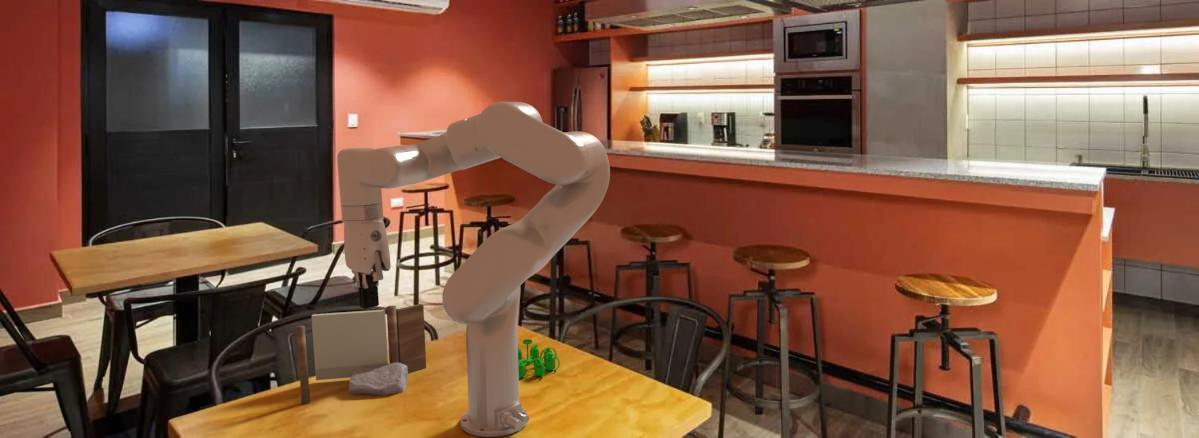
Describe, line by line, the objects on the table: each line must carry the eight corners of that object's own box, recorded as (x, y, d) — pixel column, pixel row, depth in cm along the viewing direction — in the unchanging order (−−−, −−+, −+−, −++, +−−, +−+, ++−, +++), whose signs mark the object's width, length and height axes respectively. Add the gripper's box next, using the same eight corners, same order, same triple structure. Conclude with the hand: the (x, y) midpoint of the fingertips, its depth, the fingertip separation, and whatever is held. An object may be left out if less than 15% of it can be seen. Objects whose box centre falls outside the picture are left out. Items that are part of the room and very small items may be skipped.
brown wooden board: (427, 368, 158) (424, 300, 156) (304, 405, 138) (298, 328, 136) (422, 366, 160) (419, 299, 157) (300, 402, 140) (294, 326, 137)
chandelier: (507, 356, 167) (506, 329, 166) (567, 360, 164) (567, 332, 163) (485, 379, 152) (484, 349, 151) (550, 384, 149) (550, 354, 148)
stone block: (406, 401, 145) (409, 375, 154) (403, 382, 143) (407, 357, 152) (347, 408, 143) (354, 381, 152) (344, 388, 141) (351, 362, 150)
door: (388, 372, 154) (384, 309, 152) (388, 374, 153) (384, 311, 150) (316, 378, 150) (312, 314, 148) (316, 380, 149) (311, 316, 147)
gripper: (400, 214, 128) (406, 309, 131) (362, 208, 139) (369, 296, 141) (362, 219, 123) (369, 318, 126) (326, 212, 133) (333, 303, 136)
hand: (369, 306), depth 134 cm, fingers closed
